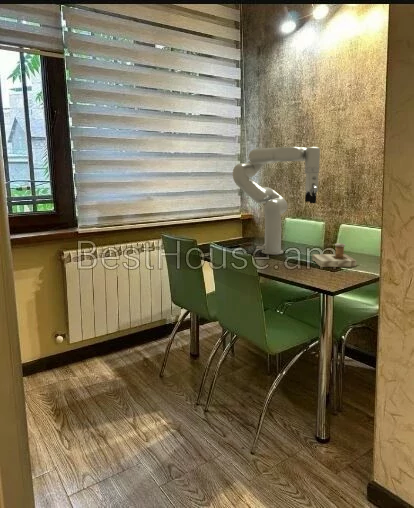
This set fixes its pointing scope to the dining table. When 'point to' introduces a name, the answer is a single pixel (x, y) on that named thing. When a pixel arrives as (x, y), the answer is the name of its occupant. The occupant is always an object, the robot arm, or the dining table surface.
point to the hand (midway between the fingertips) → (310, 202)
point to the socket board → (333, 260)
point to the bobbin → (339, 251)
